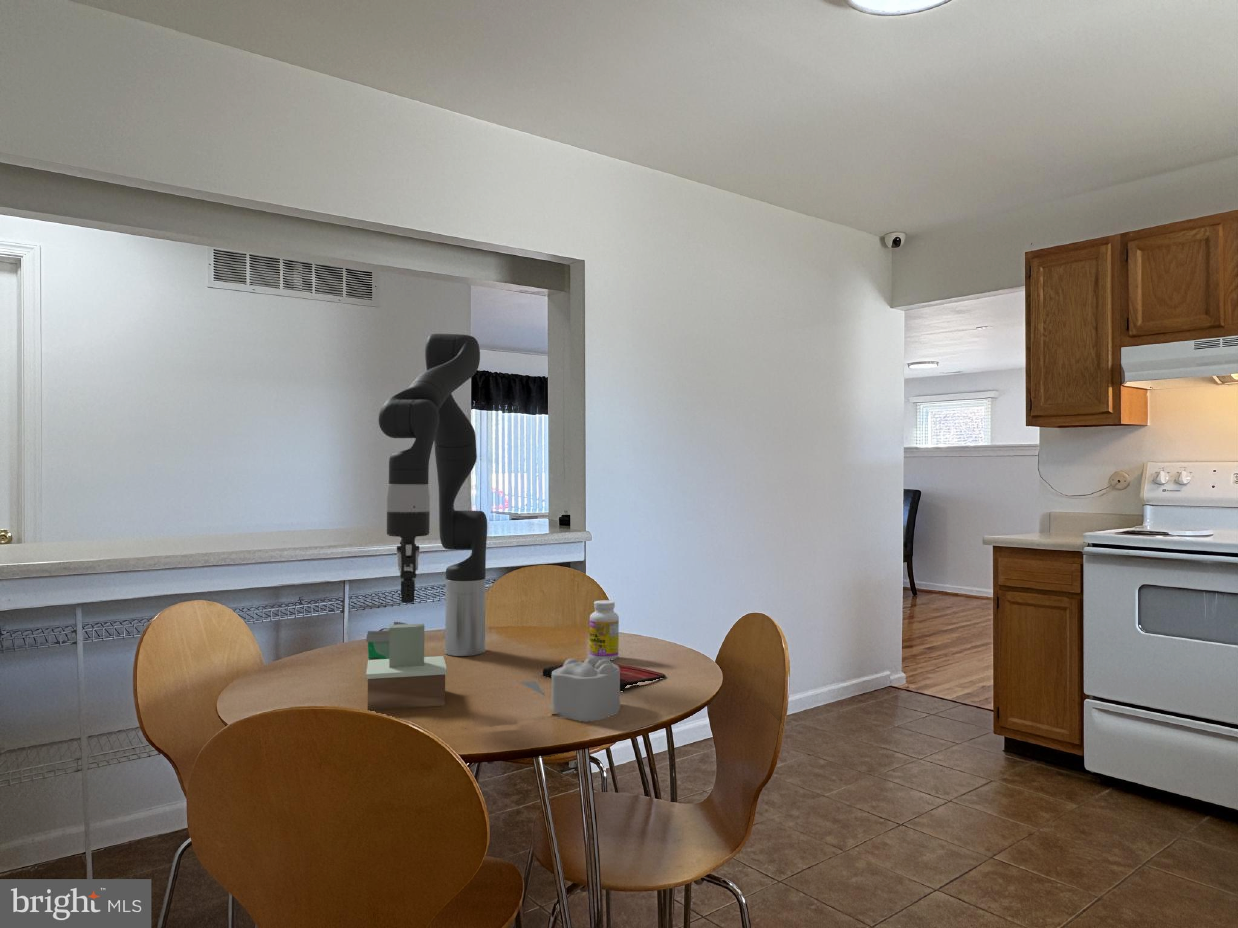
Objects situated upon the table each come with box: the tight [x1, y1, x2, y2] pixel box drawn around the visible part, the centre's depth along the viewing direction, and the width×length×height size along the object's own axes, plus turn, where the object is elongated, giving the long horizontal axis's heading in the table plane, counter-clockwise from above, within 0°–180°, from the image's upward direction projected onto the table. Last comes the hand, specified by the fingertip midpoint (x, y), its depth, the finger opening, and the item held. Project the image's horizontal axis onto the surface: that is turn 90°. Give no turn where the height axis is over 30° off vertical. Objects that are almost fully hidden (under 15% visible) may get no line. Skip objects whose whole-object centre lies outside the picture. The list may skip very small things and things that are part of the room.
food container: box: [365, 621, 408, 660], centre depth 168 cm, size 12×6×10 cm, turn 168°
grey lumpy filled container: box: [550, 656, 621, 723], centre depth 143 cm, size 10×13×9 cm
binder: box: [542, 660, 666, 693], centre depth 167 cm, size 16×2×21 cm
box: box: [367, 674, 446, 711], centre depth 146 cm, size 11×13×6 cm
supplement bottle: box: [588, 599, 620, 660], centre depth 185 cm, size 7×7×13 cm
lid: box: [365, 623, 448, 680], centre depth 146 cm, size 12×14×9 cm
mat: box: [519, 680, 547, 697], centre depth 153 cm, size 14×14×1 cm
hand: (407, 599), depth 146 cm, fingers open, 8 cm apart
